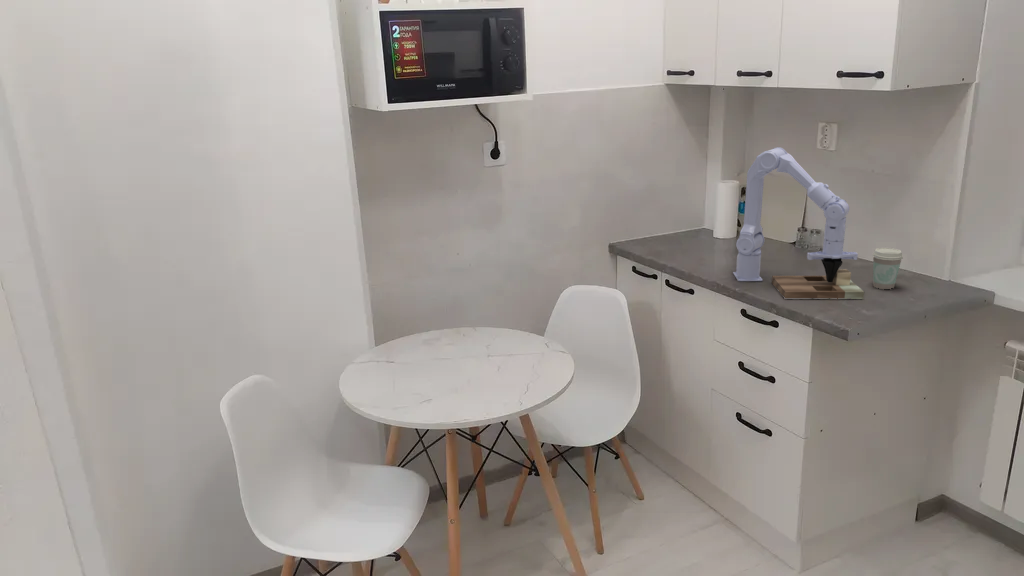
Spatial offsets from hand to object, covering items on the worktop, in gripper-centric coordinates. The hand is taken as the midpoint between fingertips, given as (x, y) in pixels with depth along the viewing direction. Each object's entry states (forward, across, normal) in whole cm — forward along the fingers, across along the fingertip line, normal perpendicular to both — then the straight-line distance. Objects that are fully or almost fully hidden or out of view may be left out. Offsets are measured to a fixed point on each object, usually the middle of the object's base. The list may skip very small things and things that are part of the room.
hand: (829, 281), depth 224 cm
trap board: (+3, -4, 0) cm, 5 cm away
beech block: (+1, +4, 0) cm, 4 cm away
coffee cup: (+3, +18, +4) cm, 19 cm away
